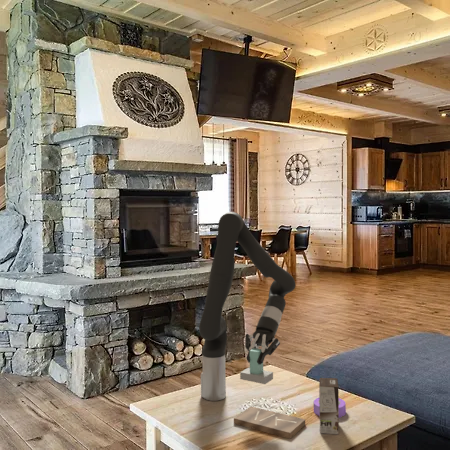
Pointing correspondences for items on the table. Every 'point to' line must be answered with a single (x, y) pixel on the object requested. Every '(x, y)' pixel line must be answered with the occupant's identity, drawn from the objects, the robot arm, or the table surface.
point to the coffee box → (329, 405)
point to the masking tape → (341, 407)
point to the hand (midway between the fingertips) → (253, 362)
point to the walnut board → (270, 422)
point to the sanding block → (256, 370)
